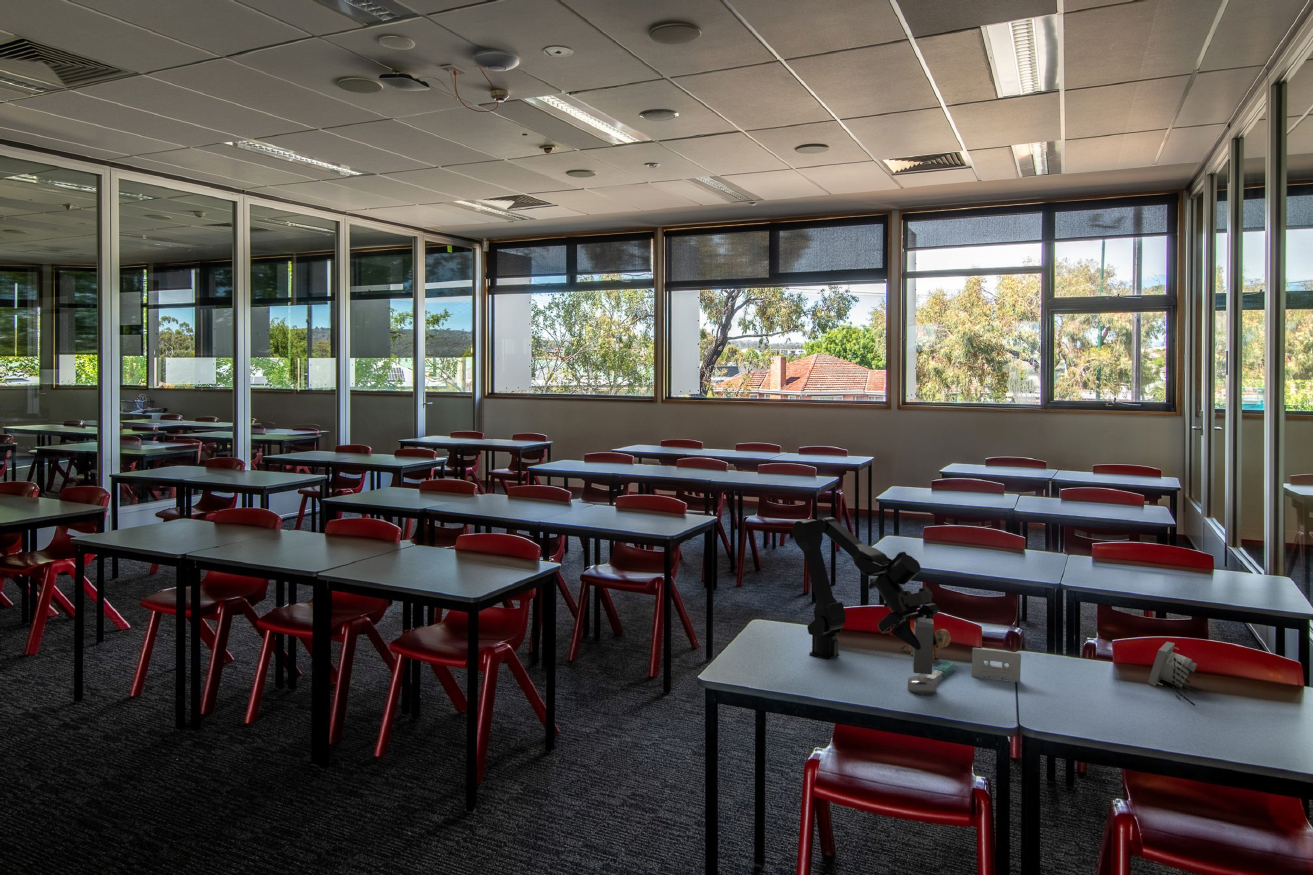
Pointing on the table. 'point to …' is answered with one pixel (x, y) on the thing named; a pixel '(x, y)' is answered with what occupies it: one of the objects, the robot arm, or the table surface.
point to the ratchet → (929, 680)
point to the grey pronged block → (1172, 669)
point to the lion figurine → (942, 641)
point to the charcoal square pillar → (923, 646)
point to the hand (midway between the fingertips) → (927, 646)
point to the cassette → (996, 671)
